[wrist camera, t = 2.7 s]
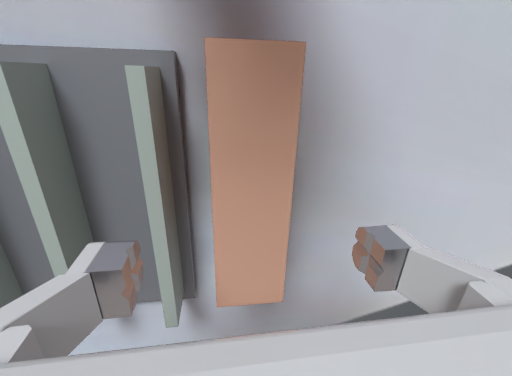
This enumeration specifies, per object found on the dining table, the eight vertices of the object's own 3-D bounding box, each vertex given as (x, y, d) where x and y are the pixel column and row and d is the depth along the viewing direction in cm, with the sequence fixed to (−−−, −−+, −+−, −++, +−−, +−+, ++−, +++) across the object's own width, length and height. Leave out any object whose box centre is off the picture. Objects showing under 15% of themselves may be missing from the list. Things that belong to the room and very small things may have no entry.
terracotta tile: (265, 55, 20) (306, 41, 11) (259, 219, 25) (282, 301, 16) (211, 53, 19) (204, 37, 10) (217, 220, 25) (216, 307, 16)
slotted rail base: (175, 52, 19) (160, 45, 14) (195, 288, 27) (191, 333, 23) (-105, 41, 16) (-234, 29, 12) (15, 302, 25) (-32, 355, 21)
